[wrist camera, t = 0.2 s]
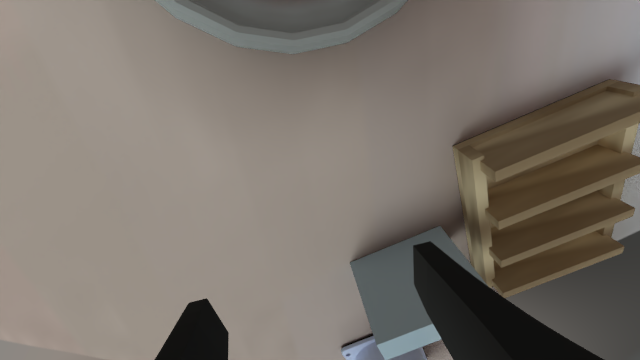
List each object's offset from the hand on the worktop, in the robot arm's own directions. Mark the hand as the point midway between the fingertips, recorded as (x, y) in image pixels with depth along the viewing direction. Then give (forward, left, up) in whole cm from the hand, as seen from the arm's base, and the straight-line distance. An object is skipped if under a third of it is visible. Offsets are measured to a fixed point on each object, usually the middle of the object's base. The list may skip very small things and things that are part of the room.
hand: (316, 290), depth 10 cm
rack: (-11, -16, -10) cm, 21 cm away
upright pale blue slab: (-12, -4, -10) cm, 16 cm away
